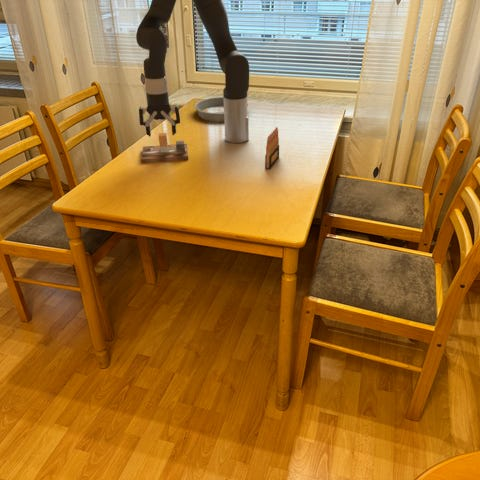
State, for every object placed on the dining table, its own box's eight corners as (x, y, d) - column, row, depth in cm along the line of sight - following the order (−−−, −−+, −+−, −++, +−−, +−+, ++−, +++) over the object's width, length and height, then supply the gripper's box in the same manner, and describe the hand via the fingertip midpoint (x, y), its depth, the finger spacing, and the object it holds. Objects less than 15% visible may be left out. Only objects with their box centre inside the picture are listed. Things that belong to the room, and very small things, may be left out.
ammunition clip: (269, 169, 161) (270, 137, 154) (264, 168, 161) (265, 136, 155) (279, 157, 169) (280, 126, 162) (274, 157, 170) (275, 125, 163)
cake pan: (258, 110, 214) (258, 101, 211) (229, 127, 197) (228, 116, 194) (215, 102, 225) (214, 93, 222) (184, 117, 208) (183, 107, 205)
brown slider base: (187, 147, 179) (186, 133, 176) (188, 159, 169) (187, 145, 166) (143, 150, 177) (141, 136, 174) (141, 163, 167) (139, 149, 164)
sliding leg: (168, 146, 174) (166, 129, 171) (168, 154, 169) (166, 135, 165) (160, 147, 174) (158, 129, 170) (160, 154, 168) (158, 136, 165)
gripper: (177, 86, 161) (181, 130, 170) (136, 87, 160) (142, 132, 169) (177, 92, 155) (181, 138, 164) (135, 94, 153) (141, 140, 162)
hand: (161, 135), depth 166 cm, fingers open, 8 cm apart
